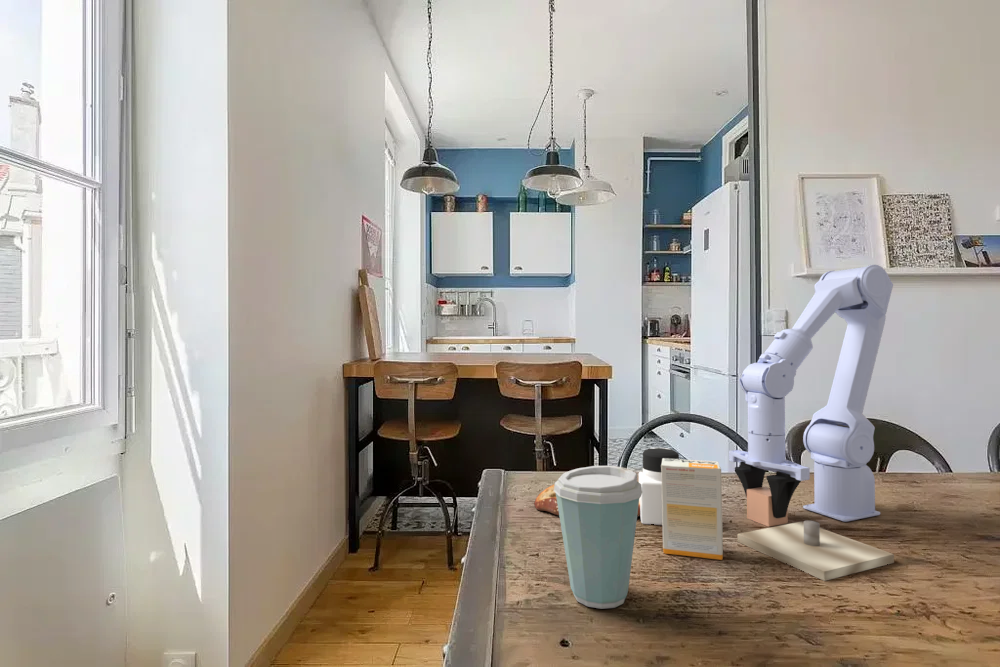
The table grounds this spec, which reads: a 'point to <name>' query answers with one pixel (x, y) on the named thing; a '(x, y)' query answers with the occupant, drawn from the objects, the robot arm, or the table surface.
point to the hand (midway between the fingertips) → (766, 512)
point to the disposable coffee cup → (598, 531)
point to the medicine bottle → (653, 484)
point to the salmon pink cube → (762, 507)
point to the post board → (815, 549)
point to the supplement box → (692, 508)
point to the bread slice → (552, 501)
